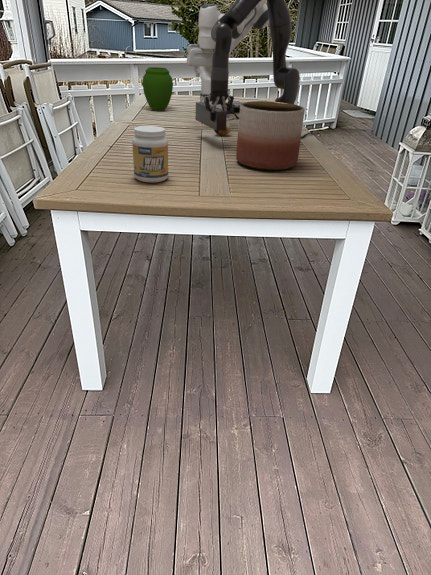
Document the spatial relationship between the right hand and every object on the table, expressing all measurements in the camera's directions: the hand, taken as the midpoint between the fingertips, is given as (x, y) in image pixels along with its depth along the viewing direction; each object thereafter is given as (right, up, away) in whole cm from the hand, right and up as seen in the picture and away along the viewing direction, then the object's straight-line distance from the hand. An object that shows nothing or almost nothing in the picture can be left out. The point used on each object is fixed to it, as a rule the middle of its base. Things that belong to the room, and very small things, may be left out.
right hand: (218, 120), depth 183 cm
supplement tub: (-24, -36, -37) cm, 57 cm away
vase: (-39, +41, +85) cm, 102 cm away
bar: (-4, +2, +9) cm, 10 cm away
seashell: (+2, +4, +28) cm, 29 cm away
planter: (+20, -23, -13) cm, 33 cm away
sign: (+15, +50, +103) cm, 116 cm away
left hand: (-6, +30, +20) cm, 37 cm away
